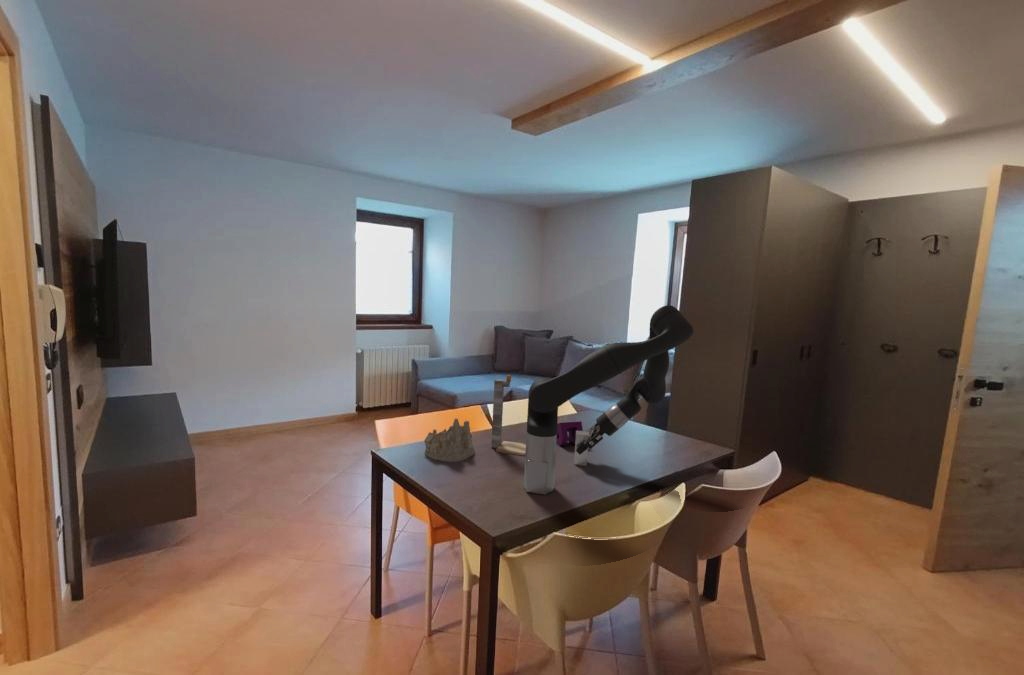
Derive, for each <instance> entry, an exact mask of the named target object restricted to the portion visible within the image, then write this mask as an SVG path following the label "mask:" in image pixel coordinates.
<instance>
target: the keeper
mask: <svg viewBox="0 0 1024 675" xmlns="http://www.w3.org/2000/svg"><path fill="white" fill-rule="evenodd" d="M511 382H512V375H511V374H507V375H506V380H505V379H498V378H497V379H495V380H494V382H493V383H494V384H493V401H492V403H493V404H492V421H491V422H492V425H491V427H492V428H491V444H490V446H491V448H494V449H495V452H497V453H503V454H511V455H517V456H523V457H525V453H526V443H523V442H515V441H507V440H503V441H502V432H503V431H502V430H503V429H502V428H503V414H504V413H503V410H504V391H505V390H504V389H505V388H509V387H510V386H511Z"/></svg>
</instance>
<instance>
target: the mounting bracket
mask: <svg viewBox="0 0 1024 675" xmlns="http://www.w3.org/2000/svg"><path fill="white" fill-rule="evenodd" d="M576 431H584V429H583V423H582V421H570V422H568V421H566V422H559V423H558V428H557V444H556V446H559V447H561V446H566V445H567V444H568V439H569V441H570V443H571V442H572V445H574V444H575V440H576Z"/></svg>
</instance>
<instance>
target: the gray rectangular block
mask: <svg viewBox="0 0 1024 675" xmlns="http://www.w3.org/2000/svg"><path fill="white" fill-rule="evenodd" d="M586 431H587V430H585V431H584V430H583V431H576V440H575V446H574V457H573V458H574V460H573V465H575V466H583V467H587V466H588V455H589V454H588V452H589V449H587V450H585V451H584V452H583V453H582V454H579V453H578V452H577V451H576V449H577V448H578V447H579V446H581V445H582V444H583V443H584V442H585V441H586V440H587V437H588V435H589V432H586Z"/></svg>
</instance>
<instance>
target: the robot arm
mask: <svg viewBox="0 0 1024 675" xmlns="http://www.w3.org/2000/svg"><path fill="white" fill-rule="evenodd" d="M694 331H695V330H694V327H693V325H692V324H691V323H690V321H688V319H687V318H686V317H685V316H684V315H683V314H682V312H681V311H680V310H679V309H678V308H677V307H675V306H673V305H671V304H670V305H669V304H667V305H664V306H661V307H659V308H658V309H656V311H654V312H653V314H652V316H651V318H650V322H649V334H648V336H649V337H648V339H647V340H643V341H638V342H637V341H636V342H634V341H633V342H628V341H627V342H626V341H625V342H613V343H612V342H611V343H608V344H606V345H604V346H602V347H600V348H598V349H596V350H595V351H592V352H591V353H589V354H588V355H587V356H585V357H584V358H583V359H581V360H580V361H579V362H578V363H576V364H575V365H574V366H572V368H570V369H569V370H568V371H566V372H564V373H562V374H559V375H558V376H556V377H554V378H551V379H550V378H546V377H545V378H538V379H536V380H534V381H533V382H532V383H531V385H530V387H529V389H528V395H527V396H528V400H527V415H526V416H527V417H526V418H527V419H526V434H525V435H526V438H525V439H526V441H525V444H526V453H525V455H524V457H525V458H524V473H523V474H524V476H523V477H524V478H523V479H524V480H523V488H524V490H525V492H526V493H532V494H533V493H534V494H540V495H548V494H549V493H551V492H553V491H554V489H555V476H556V474H555V473H556V458H557V428H558V424H559V423H558V418H559V417H558V415H559V407H561V406H562V405H563V404H565V403H566V402H568V401H570V400H571V399H573V398H574V397H576V396H577V395H579V394H581V393H583V392H586V391H588V390H590V389H592V388H594V387H597V386H598V385H600V384H603V383H605V382H607V381H609V380H611V379H613V378H615V377H617V376H618V375H621V374H622V373H624V372H626V371H627V370H629V369H631V368H633V367H635V366H636V365H639V364H641V363H643V362H645V361H646V362H645V366H644V368H643V369H644V370H643V375H641V376H639V377H638V378H637V379H636V380H635V382H634V383H633V385H632V387H630V389H629V391H628V392H627V393H626V395H624V397H622V398H621V399H620V400H619V401H617V402H616V403H615V404H614V405H612V406H610V407H609V408H608V409H607V410H606V411H604V412H603V413H602V414H601V415H599V416H598V417H596V420H595V421H596V423H594V425H592V426H591V427H590V428H588V429H587V430H585V431H586V432H589V435H588V437H587V440H586V441H585V442H584V443H583V444H582V445H581V446H579V447H578V448H577V449H576V451H577V452H578V453H579V454H582V453H583V452H584V451H585V450H587V449H588V450H592V449H593V447H595V446H596V445H598V444H599V443H600V442H601V441H603V439H604V437H603V436H604V434H606V435H607V436H608V437H611V436H613V435H614V434H615V433H616V432H618V431H619V430H620V429H622V428H623V427H624V426H625V425H626V424H627V423H628V422H629V421H630V420H631V419H632V418H634V417H635V416H636V415H637V414H638V413H640V412H641V410H642V407H641V404H640V403H639V400H638V398H639V396H641V397H642V398H643V400H644V401H645V402H646V403H648V405H652V406H655V405H656V406H657V405H658V404H660V403H662V402H663V400H664V398H665V396H666V391H667V388H666V387H667V386H666V385H667V383H666V377H667V373H668V371H669V369H670V368H669V366H670V354H669V351H670V350H672V349H675V348H678V347H680V346H681V345H683V344H684V343H686V342H687V341H688V340H689V339H691V338H692V336H693V334H694Z"/></svg>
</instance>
